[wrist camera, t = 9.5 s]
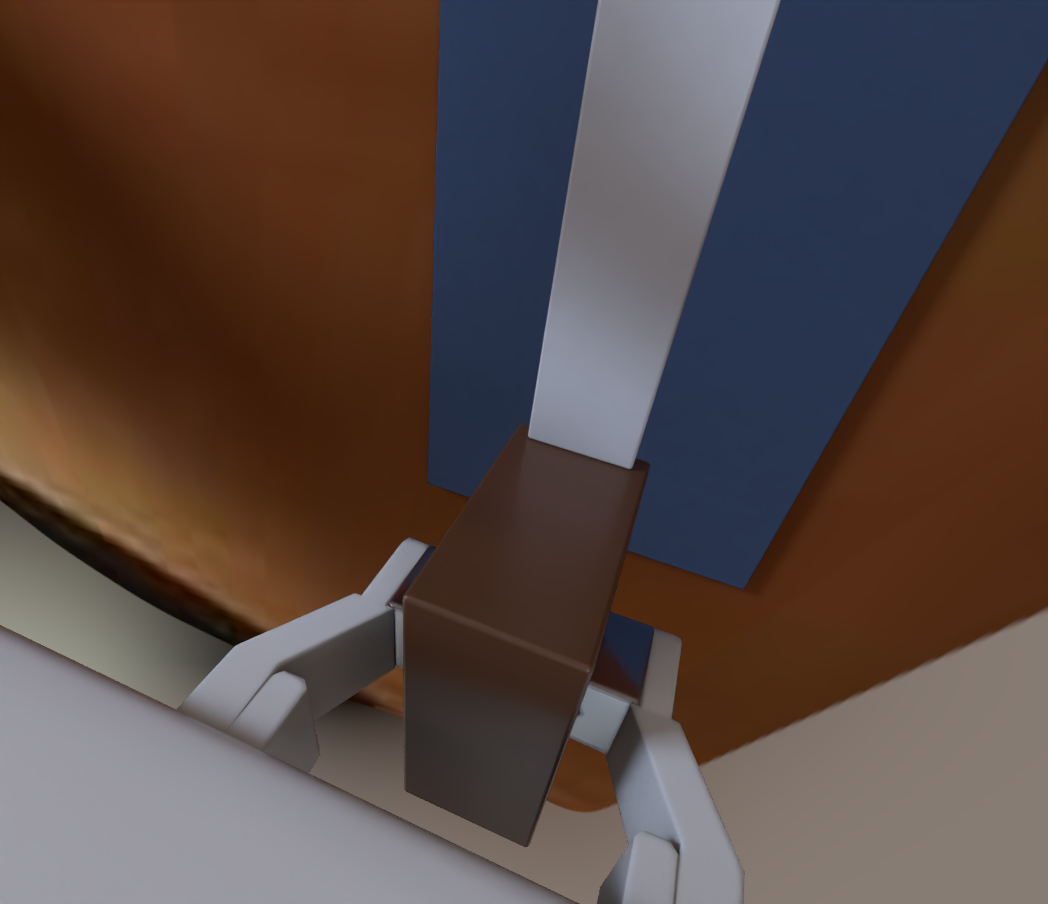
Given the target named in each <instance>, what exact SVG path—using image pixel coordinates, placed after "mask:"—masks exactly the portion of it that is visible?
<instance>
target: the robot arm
mask: <svg viewBox="0 0 1048 904" xmlns="http://www.w3.org/2000/svg"><path fill="white" fill-rule="evenodd" d="M435 549H436V547H433V546H431V545H428V544H425V543H423V542H420V541H417V540H415V539H412V538H410V537H409V538H408V539H406V540H405V541H403V542H402V543H401V544H400V546H399V547H398V548H397V550H396V551H395V552H394V553H393V555H392V556H391V557H390V559H389V560H388V561H387V563H386V564H385V565H384V567H383V568H382V569H381V570H380V572H379V573H378V574H377V576H376V577H375V578H374V580H373V581H372V582H371V583H370V585H369V586H368V587H367V589H366V590H365V591H364V593H363V594H362V595H359V594H356V593H354V594H351V595H349V596H347V597H345V598H342V599H340V600H338V601H336V602H333V603H331V604H329V605H327V606H324V607H322V608H320V609H317V610H315V611H313V612H311V613H308V614H306V615H304V616H302V617H299V618H297V619H295V620H293V621H290V622H288V623H286V624H284V625H281V626H279V627H277V628H274V629H272V630H270V631H268V632H265V633H263V634H261V635H259V636H256V637H254V638H252V639H250V640H247V641H245V642H243V643H240V644H238V645H236V646H235V647H234V648H233V649H232V650H231V651H230V652H229V653H228V654H227V655H226V656H225V657H224V658H223V660H222V661H221V662H220V663H219V664H218V665H217V666H216V667H215V668H214V669H213V670H212V671H211V673H210V674H209V675H208V676H207V677H206V678H205V679H204V680H203V681H202V682H201V683H200V684H199V686H198V687H197V688H196V689H195V690H194V691H193V692H192V693H191V694H190V695H189V696H188V698H187V699H186V700H185V701H184V702H183V703H182V704H181V705H180V706H179V707H178V708H177V709H174V708H171V707H169V706H167V705H165V704H163V703H161V702H159V701H157V700H155V699H153V698H151V697H149V696H147V695H144V694H142V693H140V692H138V691H136V690H134V689H132V688H130V687H128V686H126V685H124V684H121V683H120V682H118V681H115V680H113V679H111V678H109V677H107V676H105V675H103V674H101V673H99V672H96V671H94V670H93V669H90V668H88V667H86V666H84V665H82V664H80V663H78V662H76V661H74V660H72V659H70V658H68V657H66V656H63V655H61V654H59V653H57V652H55V651H53V650H51V649H49V648H47V647H45V646H43V645H41V644H38V643H36V642H34V641H32V640H30V639H28V638H26V637H24V636H22V635H20V634H18V633H16V632H13V631H12V630H9V629H7V628H5V627H3V626H1V625H0V904H579V903H577V902H575V901H573V900H570V899H568V898H566V897H564V896H562V895H560V894H558V893H556V892H554V891H551V890H550V889H548V888H546V887H543V886H541V885H539V884H537V883H535V882H533V881H531V880H529V879H527V878H525V877H523V876H521V875H519V874H516V873H514V872H512V871H510V870H508V869H506V868H504V867H502V866H500V865H498V864H495V863H494V862H492V861H489V860H487V859H485V858H483V857H481V856H479V855H477V854H475V853H472V852H471V851H469V850H466V849H464V848H462V847H460V846H458V845H456V844H454V843H452V842H450V841H448V840H446V839H444V838H442V837H440V836H438V835H435V834H433V833H431V832H429V831H427V830H425V829H423V828H421V827H419V826H417V825H415V824H413V823H411V822H408V821H406V820H404V819H402V818H400V817H398V816H396V815H394V814H392V813H390V812H388V811H386V810H383V809H381V808H379V807H377V806H375V805H373V804H371V803H369V802H367V801H365V800H363V799H361V798H359V797H356V796H354V795H352V794H350V793H348V792H346V791H344V790H342V789H340V788H338V787H336V786H334V785H331V784H330V783H327V782H325V781H323V780H321V779H319V778H317V777H315V776H313V775H311V774H309V772H310V771H311V769H312V767H313V766H314V764H315V762H316V761H317V760H318V758H319V756H320V750H319V744H318V740H317V735H316V730H315V725H314V720H316V719H317V718H319V717H321V716H322V715H324V714H325V713H327V712H328V711H330V710H331V709H333V708H334V707H336V706H338V705H339V704H341V703H342V702H344V701H345V700H347V699H348V698H350V697H351V696H353V695H354V694H356V693H357V692H359V691H361V690H362V689H364V688H365V687H367V686H368V685H370V684H371V683H373V682H374V681H376V680H377V679H379V678H381V677H382V676H384V675H385V674H387V673H388V672H390V671H391V670H393V669H394V668H395V666H398V667H401V668H403V596H404V594H405V593H406V591H407V590H408V588H409V587H410V585H411V584H412V582H413V581H414V579H415V578H416V577H417V575H418V574H419V572H420V571H421V569H422V568H423V566H424V565H425V563H426V562H427V560H428V559H429V557H430V556H431V554H432V553H433V552H434V550H435ZM681 644H682V643H681V639H680V637H677V636H675V635H672V634H669V633H666V632H664V631H661V630H658V629H655V628H653V627H652V626H649V625H646V624H643V623H640V622H638V621H635V620H632V619H629V618H626V617H623V616H621V615H618V614H615V613H612V612H610V614H609V617H608V621H607V624H606V628H605V632H604V635H603V639H602V642H601V646H600V650H599V653H598V657H597V660H596V664H595V668H594V671H593V674H592V676H591V679H590V682H589V685H588V687H587V690H586V693H585V695H584V698H583V701H582V704H581V706H580V709H579V712H578V715H577V717H576V720H575V723H574V725H573V728H572V731H571V734H570V736H569V738H571V739H573V740H576V741H578V742H580V743H582V744H584V745H587V746H589V747H591V748H593V749H596V750H598V751H600V752H602V753H604V754H607V755H606V759H607V763H608V767H609V771H610V775H611V779H612V783H613V787H614V791H615V795H616V799H617V803H618V806H619V811H620V815H621V818H622V822H623V826H624V830H625V834H626V838H627V842H628V847H627V848H626V850H625V851H624V853H623V854H622V856H621V857H620V859H619V860H618V862H617V863H616V864H615V866H614V867H613V869H612V870H611V872H610V873H609V875H608V876H607V878H606V879H605V881H604V882H603V884H602V885H601V887H600V891H599V896H598V900H597V904H744V870H743V868H742V866H741V863H740V861H739V859H738V857H737V854H736V852H735V849H734V847H733V845H732V843H731V840H730V838H729V836H728V834H727V831H726V829H725V826H724V824H723V822H722V820H721V817H720V815H719V813H718V810H717V808H716V806H715V803H714V801H713V799H712V797H711V794H710V792H709V790H708V787H707V785H706V783H705V780H704V778H703V776H702V773H701V771H700V769H699V766H698V764H697V762H696V760H695V757H694V755H693V753H692V750H691V748H690V746H689V743H688V741H687V739H686V736H685V734H684V732H683V730H682V727H681V725H680V723H679V722H677V721H675V720H672V719H671V718H672V710H673V703H674V696H675V688H676V681H677V674H678V666H679V659H680V652H681Z"/></svg>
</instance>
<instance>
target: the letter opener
mask: <svg viewBox="0 0 1048 904" xmlns="http://www.w3.org/2000/svg"><path fill="white" fill-rule="evenodd" d="M780 2H781V0H598V5H597V12H596V18H595V24H594V30H593V36H592V42H591V49H590V55H589V61H588V67H587V73H586V79H585V86H584V92H583V98H582V104H581V110H580V117H579V123H578V129H577V135H576V141H575V147H574V154H573V160H572V166H571V172H570V178H569V184H568V191H567V197H566V203H565V209H564V215H563V221H562V228H561V234H560V240H559V246H558V252H557V259H556V265H555V271H554V277H553V283H552V289H551V296H550V302H549V308H548V314H547V320H546V326H545V333H544V339H543V345H542V351H541V357H540V363H539V370H538V376H537V382H536V388H535V394H534V401H533V407H532V413H531V419H530V425H527V424H520V425H519V426H518V428H517V429H516V431H515V432H514V434H513V435H512V437H511V438H510V440H509V441H508V443H507V444H506V446H505V447H504V449H503V450H502V451H501V453H500V454H499V456H498V457H497V459H496V460H495V462H494V463H493V465H492V466H491V468H490V469H489V471H488V472H487V474H486V475H485V476H484V478H483V479H482V481H481V482H480V484H479V485H478V487H477V488H476V490H475V491H474V493H473V494H472V496H471V497H470V499H469V500H468V501H467V503H466V504H465V506H464V507H463V509H462V510H461V512H460V513H459V515H458V516H457V518H456V519H455V521H454V522H453V524H452V525H451V527H450V528H449V529H448V531H447V532H446V534H445V535H444V537H443V538H442V540H441V541H440V543H439V544H438V546H437V547H436V549H435V550H434V552H433V553H432V554H431V556H430V557H429V559H428V560H427V562H426V563H425V565H424V566H423V568H422V569H421V571H420V572H419V574H418V575H417V577H416V578H415V579H414V581H413V582H412V584H411V585H410V587H409V588H408V590H407V591H406V593H405V594H404V596H403V685H404V784H405V785H404V788H405V790H406V792H408V793H411V794H413V795H415V796H417V797H419V798H421V799H423V800H425V801H428V802H430V803H432V804H434V805H436V806H438V807H440V808H443V809H445V810H447V811H449V812H451V813H453V814H455V815H458V816H460V817H462V818H464V819H466V820H468V821H470V822H472V823H475V824H477V825H479V826H481V827H483V828H485V829H488V830H490V831H492V832H494V833H496V834H498V835H500V836H502V837H505V838H507V839H509V840H511V841H513V842H515V843H518V844H520V845H522V846H524V847H528V846H529V844H530V842H531V840H532V837H533V834H534V831H535V829H536V826H537V823H538V821H539V818H540V815H541V812H542V810H543V807H544V804H545V802H546V799H547V796H548V793H549V791H550V788H551V785H552V783H553V780H554V777H555V774H556V772H557V769H558V766H559V763H560V761H561V758H562V755H563V753H564V750H565V747H566V744H567V742H568V739H569V736H570V734H571V731H572V728H573V725H574V723H575V720H576V717H577V715H578V712H579V709H580V706H581V704H582V701H583V698H584V695H585V693H586V690H587V687H588V685H589V682H590V679H591V676H592V674H593V671H594V668H595V664H596V660H597V657H598V653H599V650H600V646H601V642H602V639H603V635H604V632H605V628H606V624H607V621H608V617H609V614H610V610H611V606H612V603H613V599H614V596H615V592H616V588H617V585H618V581H619V578H620V574H621V570H622V567H623V563H624V560H625V556H626V552H627V549H628V545H629V542H630V538H631V534H632V531H633V527H634V524H635V520H636V516H637V513H638V509H639V506H640V502H641V498H642V495H643V491H644V488H645V484H646V480H647V477H648V473H649V470H650V463H648V462H647V461H644V460H640V459H637V458H636V455H637V452H638V449H639V446H640V443H641V440H642V437H643V433H644V430H645V427H646V424H647V421H648V418H649V415H650V411H651V408H652V405H653V402H654V399H655V396H656V392H657V389H658V386H659V383H660V380H661V377H662V374H663V370H664V367H665V364H666V361H667V358H668V355H669V351H670V348H671V345H672V342H673V339H674V336H675V333H676V329H677V326H678V323H679V320H680V317H681V314H682V310H683V307H684V304H685V301H686V298H687V295H688V292H689V288H690V285H691V282H692V279H693V276H694V273H695V269H696V266H697V263H698V260H699V257H700V254H701V251H702V247H703V244H704V241H705V238H706V235H707V232H708V229H709V225H710V222H711V219H712V216H713V213H714V210H715V206H716V203H717V200H718V197H719V194H720V191H721V188H722V184H723V181H724V178H725V175H726V172H727V169H728V165H729V162H730V159H731V156H732V153H733V150H734V147H735V143H736V140H737V137H738V134H739V131H740V128H741V124H742V121H743V118H744V115H745V112H746V109H747V106H748V102H749V99H750V96H751V93H752V90H753V87H754V84H755V80H756V77H757V74H758V71H759V68H760V65H761V61H762V58H763V55H764V52H765V49H766V46H767V43H768V39H769V36H770V33H771V30H772V27H773V24H774V20H775V17H776V14H777V11H778V8H779V5H780Z"/></svg>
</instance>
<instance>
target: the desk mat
mask: <svg viewBox="0 0 1048 904" xmlns="http://www.w3.org/2000/svg"><path fill="white" fill-rule="evenodd" d="M597 5H598V0H441V3H440V40H439V77H438V114H437V152H436V189H435V226H434V263H433V300H432V337H431V374H430V411H429V448H428V483H429V484H432V485H435V486H437V487H440V488H443V489H446V490H449V491H452V492H455V493H458V494H461V495H464V496H467V497H471V496H472V494H473V493H474V491H475V490H476V488H477V487H478V485H479V484H480V482H481V481H482V479H483V478H484V476H485V475H486V474H487V472H488V471H489V469H490V468H491V466H492V465H493V463H494V462H495V460H496V459H497V457H498V456H499V454H500V453H501V451H502V450H503V449H504V447H505V446H506V444H507V443H508V441H509V440H510V438H511V437H512V435H513V434H514V432H515V431H516V429H517V428H518V426H519V425H520V424H527V425H530V419H531V413H532V407H533V401H534V394H535V388H536V382H537V376H538V370H539V363H540V357H541V351H542V345H543V339H544V333H545V326H546V320H547V314H548V308H549V302H550V296H551V289H552V283H553V277H554V271H555V265H556V259H557V252H558V246H559V240H560V234H561V228H562V221H563V215H564V209H565V203H566V197H567V191H568V184H569V178H570V172H571V166H572V160H573V154H574V147H575V141H576V135H577V129H578V123H579V117H580V110H581V104H582V98H583V92H584V86H585V79H586V73H587V67H588V61H589V55H590V49H591V42H592V36H593V30H594V24H595V18H596V12H597ZM1047 61H1048V0H781V2H780V5H779V8H778V11H777V14H776V17H775V20H774V24H773V27H772V30H771V33H770V36H769V39H768V43H767V46H766V49H765V52H764V55H763V58H762V61H761V65H760V68H759V71H758V74H757V77H756V80H755V84H754V87H753V90H752V93H751V96H750V99H749V102H748V106H747V109H746V112H745V115H744V118H743V121H742V124H741V128H740V131H739V134H738V137H737V140H736V143H735V147H734V150H733V153H732V156H731V159H730V162H729V165H728V169H727V172H726V175H725V178H724V181H723V184H722V188H721V191H720V194H719V197H718V200H717V203H716V206H715V210H714V213H713V216H712V219H711V222H710V225H709V229H708V232H707V235H706V238H705V241H704V244H703V247H702V251H701V254H700V257H699V260H698V263H697V266H696V269H695V273H694V276H693V279H692V282H691V285H690V288H689V292H688V295H687V298H686V301H685V304H684V307H683V310H682V314H681V317H680V320H679V323H678V326H677V329H676V333H675V336H674V339H673V342H672V345H671V348H670V351H669V355H668V358H667V361H666V364H665V367H664V370H663V374H662V377H661V380H660V383H659V386H658V389H657V392H656V396H655V399H654V402H653V405H652V408H651V411H650V415H649V418H648V421H647V424H646V427H645V430H644V433H643V437H642V440H641V443H640V446H639V449H638V452H637V455H636V458H637V459H640V460H644V461H647V462H648V463H650V470H649V473H648V477H647V480H646V484H645V488H644V491H643V495H642V498H641V502H640V506H639V509H638V513H637V516H636V520H635V524H634V527H633V531H632V534H631V538H630V542H629V545H628V549H627V551H630V552H633V553H636V554H639V555H642V556H645V557H648V558H651V559H654V560H657V561H660V562H663V563H666V564H669V565H672V566H675V567H678V568H681V569H684V570H687V571H690V572H693V573H695V574H698V575H701V576H704V577H707V578H710V579H713V580H716V581H719V582H722V583H725V584H728V585H731V586H734V587H737V588H740V589H744V588H745V586H746V585H747V583H748V581H749V579H750V578H751V576H752V574H753V572H754V571H755V569H756V567H757V565H758V564H759V562H760V560H761V558H762V557H763V555H764V553H765V551H766V550H767V548H768V546H769V545H770V543H771V541H772V539H773V538H774V536H775V534H776V532H777V531H778V529H779V527H780V525H781V524H782V522H783V520H784V518H785V517H786V515H787V513H788V511H789V510H790V508H791V506H792V505H793V503H794V501H795V499H796V498H797V496H798V494H799V492H800V491H801V489H802V487H803V485H804V484H805V482H806V480H807V478H808V477H809V475H810V473H811V471H812V470H813V468H814V466H815V465H816V463H817V461H818V459H819V458H820V456H821V454H822V452H823V451H824V449H825V447H826V445H827V444H828V442H829V440H830V438H831V437H832V435H833V433H834V431H835V430H836V428H837V426H838V425H839V423H840V421H841V419H842V418H843V416H844V414H845V412H846V411H847V409H848V407H849V405H850V404H851V402H852V400H853V398H854V397H855V395H856V393H857V391H858V390H859V388H860V386H861V384H862V383H863V381H864V379H865V378H866V376H867V374H868V372H869V371H870V369H871V367H872V365H873V364H874V362H875V360H876V358H877V357H878V355H879V353H880V351H881V350H882V348H883V346H884V344H885V343H886V341H887V339H888V338H889V336H890V334H891V332H892V331H893V329H894V327H895V325H896V324H897V322H898V320H899V318H900V317H901V315H902V313H903V311H904V310H905V308H906V306H907V304H908V303H909V301H910V299H911V298H912V296H913V294H914V292H915V291H916V289H917V287H918V285H919V284H920V282H921V280H922V278H923V277H924V275H925V273H926V271H927V270H928V268H929V266H930V264H931V263H932V261H933V259H934V258H935V256H936V254H937V252H938V251H939V249H940V247H941V245H942V244H943V242H944V240H945V238H946V237H947V235H948V233H949V231H950V230H951V228H952V226H953V224H954V223H955V221H956V219H957V218H958V216H959V214H960V212H961V211H962V209H963V207H964V205H965V204H966V202H967V200H968V198H969V197H970V195H971V193H972V191H973V190H974V188H975V186H976V184H977V183H978V181H979V179H980V178H981V176H982V174H983V172H984V171H985V169H986V167H987V165H988V164H989V162H990V160H991V158H992V157H993V155H994V153H995V151H996V150H997V148H998V146H999V144H1000V143H1001V141H1002V139H1003V138H1004V136H1005V134H1006V132H1007V131H1008V129H1009V127H1010V125H1011V124H1012V122H1013V120H1014V118H1015V117H1016V115H1017V113H1018V111H1019V110H1020V108H1021V106H1022V104H1023V103H1024V101H1025V99H1026V98H1027V96H1028V94H1029V92H1030V91H1031V89H1032V87H1033V85H1034V84H1035V82H1036V80H1037V78H1038V77H1039V75H1040V73H1041V71H1042V70H1043V68H1044V66H1045V64H1046V63H1047Z"/></svg>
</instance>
